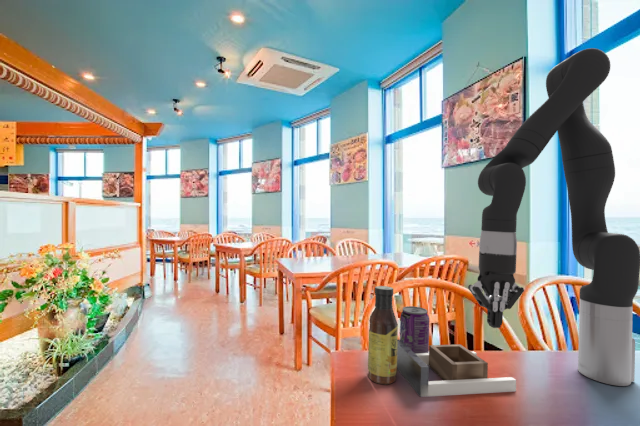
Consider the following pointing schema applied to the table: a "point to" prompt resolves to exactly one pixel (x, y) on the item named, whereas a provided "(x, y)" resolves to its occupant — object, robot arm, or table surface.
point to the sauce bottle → (383, 338)
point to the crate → (456, 363)
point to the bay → (418, 372)
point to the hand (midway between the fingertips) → (494, 326)
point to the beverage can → (415, 329)
